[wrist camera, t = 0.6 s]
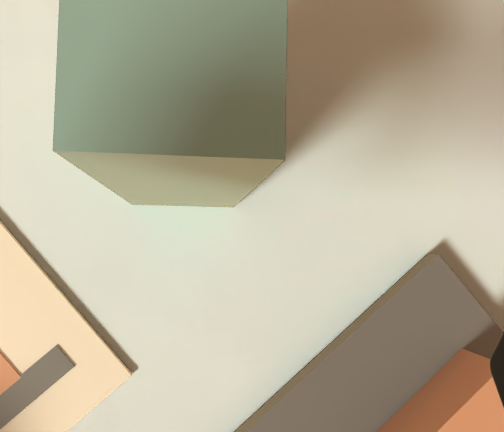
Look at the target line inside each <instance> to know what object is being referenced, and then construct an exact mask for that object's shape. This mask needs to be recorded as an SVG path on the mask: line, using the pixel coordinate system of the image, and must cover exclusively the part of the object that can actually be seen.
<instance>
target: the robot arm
mask: <svg viewBox="0 0 504 432" xmlns="http://www.w3.org/2000/svg"><path fill="white" fill-rule="evenodd" d="M490 370H491V374H492V377H493V380H494V382H495V385H496V388H497V391H498V394H499V396H500V399H501V402H502V405H503V408H504V332H503V334H502V336H501V338H500V340H499V342H498V344H497V346H496V348H495V350H494V352H493V354H492V356H491V359H490Z"/></svg>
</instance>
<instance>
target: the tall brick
mask: <svg viewBox="0 0 504 432" xmlns="http://www.w3.org/2000/svg"><path fill="white" fill-rule="evenodd" d="M286 57H287V0H59V20H58V43H57V66H56V89H55V112H54V135H53V151H54V152H56V153H57V154H58V155H60V156H61V157H63V158H64V159H66V160H67V161H69V162H70V163H72V164H73V165H75V166H76V167H78V168H79V169H81V170H82V171H83V172H85V173H86V174H88V175H89V176H91V177H92V178H94V179H95V180H97V181H98V182H100V183H101V184H103V185H104V186H105V187H107V188H108V189H110V190H111V191H113V192H114V193H116V194H117V195H119V196H120V197H122V198H123V199H125V200H126V201H127V202H129V203H130V204H132V205H167V206H204V207H234V206H236V205H237V204H238V203H239V202H240V201H241V200H242V199H243V198H244V197H245V196H246V195H247V194H249V193H250V192H251V191H252V190H253V189H254V188H255V187H256V186H257V185H258V184H259V183H261V182H262V181H263V180H264V179H265V178H266V177H267V176H268V175H269V174H270V173H271V172H272V171H274V170H275V169H276V168H277V167H278V166H279V165H280V164H281V163H282V162H283V161H284V160H285V137H286Z"/></svg>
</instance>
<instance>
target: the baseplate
mask: <svg viewBox="0 0 504 432" xmlns="http://www.w3.org/2000/svg"><path fill="white" fill-rule="evenodd" d="M502 334H503V332H502V331H501V329H500V328H499V327H498V326H497V325H496V323H495V322H494V321H493V320H492V318H491V317H490V316H489V315H488V314H487V312H486V311H485V310H484V309H483V308H482V306H481V305H480V304H479V303H478V302H477V300H476V299H475V298H474V297H473V295H472V294H471V293H470V292H469V291H468V289H467V288H466V287H465V286H464V285H463V283H462V282H461V281H460V280H459V278H458V277H457V276H456V275H455V274H454V272H453V271H452V270H451V269H450V268H449V266H448V265H447V264H446V263H445V262H444V260H443V259H442V258H441V257H440V255H439V254H427V255H426V256H425V257H424V258H423V259H421V260H420V261H419V262H418V263H417V264H416V265H415V266H414V267H413V268H412V269H411V270H410V271H408V272H407V273H406V274H405V275H404V276H403V277H402V278H401V279H400V280H399V281H398V282H397V283H395V284H394V285H393V286H392V287H391V288H390V289H389V290H388V291H387V292H386V293H385V294H383V295H382V296H381V297H380V298H379V299H378V300H377V301H376V302H375V303H374V304H373V305H372V306H370V307H369V308H368V309H367V310H366V311H365V312H364V313H363V314H362V315H361V316H360V317H358V318H357V319H356V320H355V321H354V322H353V323H352V324H351V325H350V326H349V327H348V328H347V329H345V330H344V331H343V332H342V333H341V334H340V335H339V336H338V337H337V338H336V339H335V340H333V341H332V342H331V343H330V344H329V345H328V346H327V347H326V348H325V349H324V350H323V351H322V352H320V353H319V354H318V355H317V356H316V357H315V358H314V359H313V360H312V361H311V362H310V363H309V364H307V365H306V366H305V367H304V368H303V369H302V370H301V371H300V372H299V373H298V374H297V375H295V376H294V377H293V378H292V379H291V380H290V381H289V382H288V383H287V384H286V385H285V386H284V387H282V388H281V389H280V390H279V391H278V392H277V393H276V394H275V395H274V396H273V397H272V398H270V399H269V400H268V401H267V402H266V403H265V404H264V405H263V406H262V407H261V408H260V409H259V410H257V411H256V412H255V413H254V414H253V415H252V416H251V417H250V418H249V419H248V420H247V421H245V422H244V423H243V424H242V425H241V426H240V427H239V428H238V429H237V430H236V431H235V432H504V408H503V405H502V402H501V399H500V396H499V394H498V391H497V388H496V385H495V382H494V380H493V377H492V374H491V370H490V359H491V356H492V354H493V352H494V350H495V348H496V346H497V344H498V342H499V340H500V338H501V336H502Z"/></svg>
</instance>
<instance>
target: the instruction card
mask: <svg viewBox="0 0 504 432" xmlns="http://www.w3.org/2000/svg"><path fill="white" fill-rule="evenodd" d="M131 375H132V373H131V372H130V371H129V369H128V368H127V367H126V366H125V365H124V364H123V362H122V361H121V360H120V359H119V358H118V357H117V355H116V354H115V353H114V352H113V351H112V350H111V349H110V347H109V346H108V345H107V344H106V343H105V342H104V340H103V339H102V338H101V337H100V336H99V335H98V333H97V332H96V331H95V330H94V329H93V328H92V326H91V325H90V324H89V323H88V322H87V321H86V320H85V318H84V317H83V316H82V315H81V314H80V313H79V311H78V310H77V309H76V308H75V307H74V306H73V304H72V303H71V302H70V301H69V300H68V299H67V297H66V296H65V295H64V294H63V293H62V292H61V291H60V289H59V288H58V287H57V286H56V285H55V284H54V282H53V281H52V280H51V279H50V278H49V277H48V275H47V274H46V273H45V272H44V271H43V270H42V268H41V267H40V266H39V265H38V264H37V263H36V262H35V260H34V259H33V258H32V257H31V256H30V255H29V253H28V252H27V251H26V250H25V249H24V248H23V246H22V245H21V244H20V243H19V242H18V241H17V239H16V238H15V237H14V236H13V235H12V234H11V233H10V231H9V230H8V229H7V228H6V227H5V226H4V224H3V223H2V222H1V221H0V432H67V431H68V430H69V429H70V428H71V427H72V426H74V425H75V424H76V423H77V422H78V421H79V420H81V419H82V418H83V417H84V416H85V415H86V414H87V413H89V412H90V411H91V410H92V409H93V408H94V407H96V406H97V405H98V404H99V403H100V402H101V401H102V400H104V399H105V398H106V397H107V396H108V395H109V394H111V393H112V392H113V391H114V390H115V389H116V388H117V387H119V386H120V385H121V384H122V383H123V382H124V381H126V380H127V379H128V378H129V377H130V376H131Z"/></svg>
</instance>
